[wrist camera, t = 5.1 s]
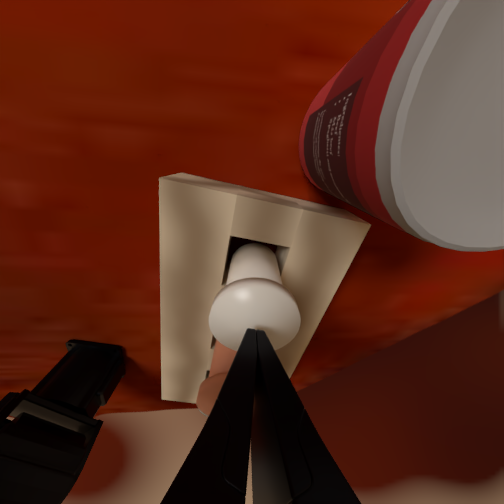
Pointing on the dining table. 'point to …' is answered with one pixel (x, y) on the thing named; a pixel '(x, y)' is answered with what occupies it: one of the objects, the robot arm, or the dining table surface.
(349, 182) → the canned food
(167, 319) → the beech block
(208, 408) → the terracotta plug
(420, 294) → the dining table surface
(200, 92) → the dining table surface
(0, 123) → the dining table surface
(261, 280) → the cream plug
